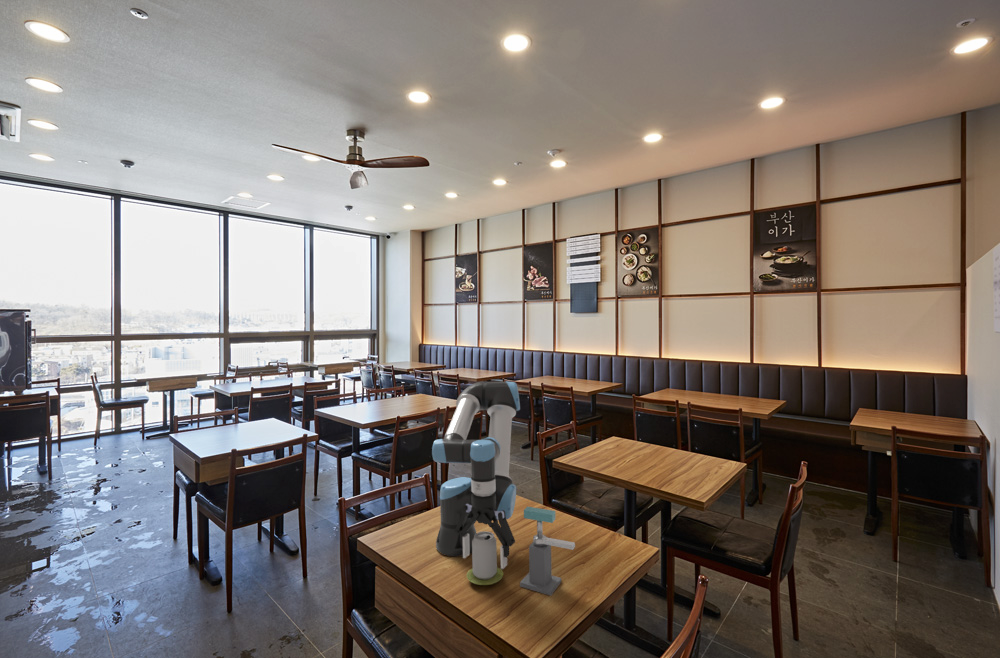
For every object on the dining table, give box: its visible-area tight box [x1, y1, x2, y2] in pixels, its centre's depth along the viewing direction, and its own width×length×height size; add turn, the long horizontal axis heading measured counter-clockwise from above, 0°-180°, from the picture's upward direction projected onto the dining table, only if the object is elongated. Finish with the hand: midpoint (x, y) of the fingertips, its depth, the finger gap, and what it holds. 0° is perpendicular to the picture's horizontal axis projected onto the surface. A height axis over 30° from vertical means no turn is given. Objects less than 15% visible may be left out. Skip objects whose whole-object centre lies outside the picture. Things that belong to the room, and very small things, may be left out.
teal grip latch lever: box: [523, 506, 576, 551], centre depth 134 cm, size 4×15×10 cm, turn 65°
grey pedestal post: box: [519, 542, 562, 596], centre depth 135 cm, size 10×8×12 cm
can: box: [471, 530, 498, 579], centre depth 138 cm, size 8×8×12 cm
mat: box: [466, 566, 504, 586], centre depth 138 cm, size 11×11×2 cm
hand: (484, 561), depth 138 cm, fingers open, 13 cm apart
